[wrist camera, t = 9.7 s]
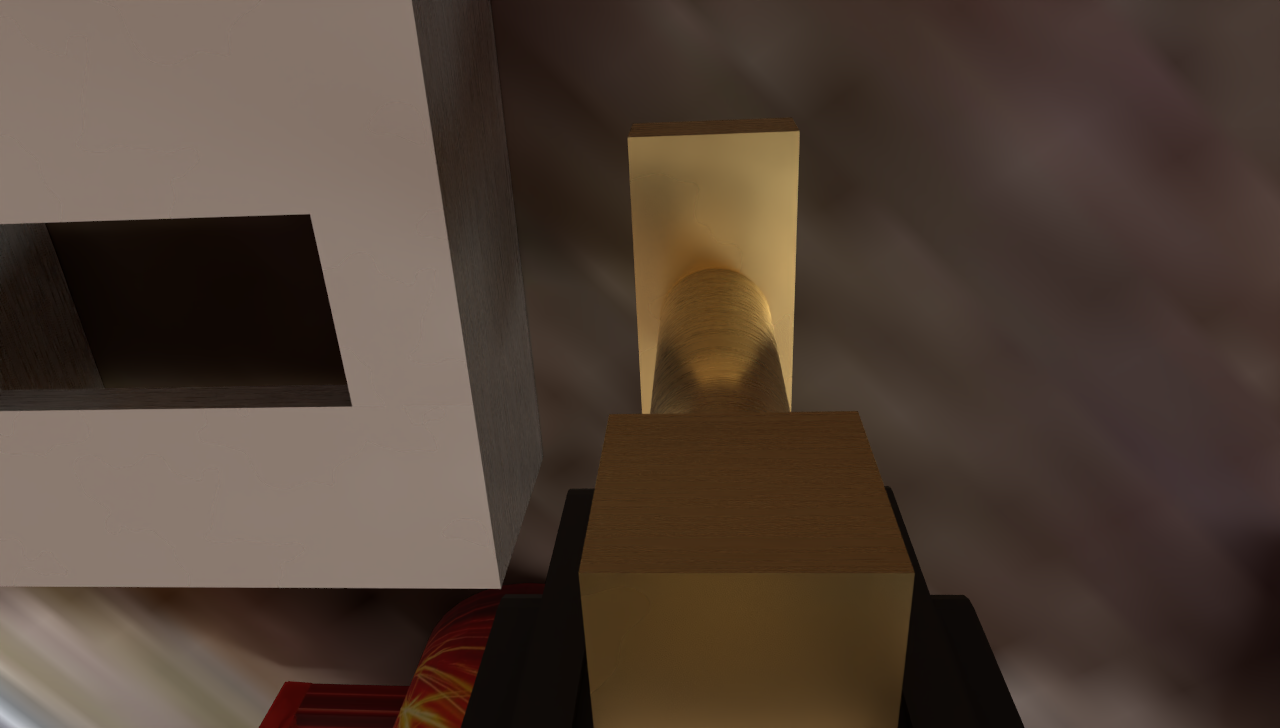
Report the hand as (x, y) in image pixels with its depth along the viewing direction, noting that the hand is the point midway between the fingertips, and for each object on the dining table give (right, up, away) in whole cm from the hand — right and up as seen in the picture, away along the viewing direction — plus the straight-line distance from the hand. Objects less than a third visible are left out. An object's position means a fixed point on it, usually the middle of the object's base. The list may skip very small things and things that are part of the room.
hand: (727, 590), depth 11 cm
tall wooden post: (+1, +4, +9) cm, 10 cm away
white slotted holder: (-13, +7, +16) cm, 21 cm away
